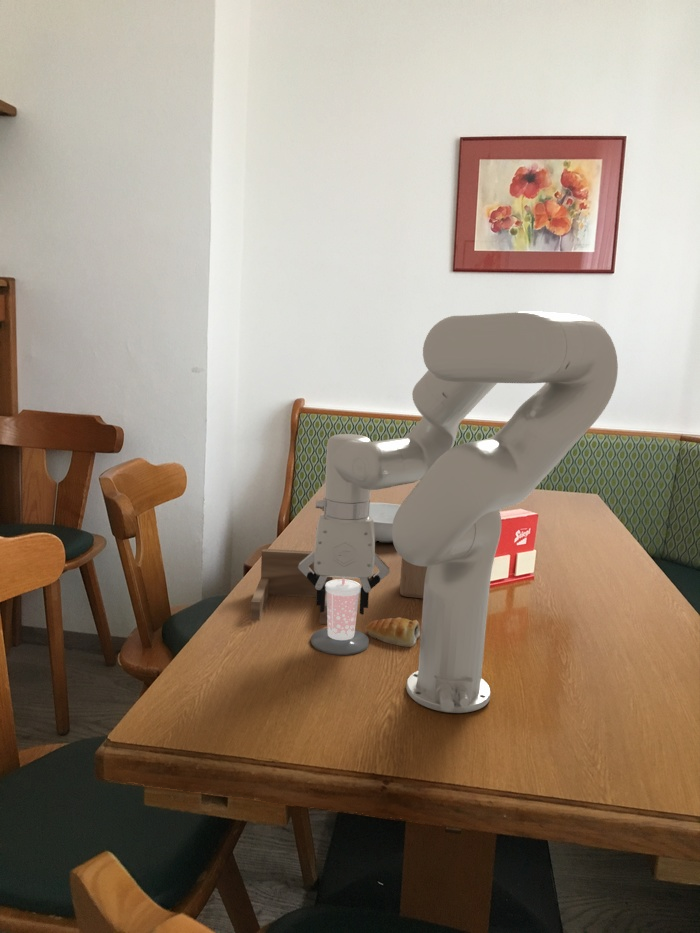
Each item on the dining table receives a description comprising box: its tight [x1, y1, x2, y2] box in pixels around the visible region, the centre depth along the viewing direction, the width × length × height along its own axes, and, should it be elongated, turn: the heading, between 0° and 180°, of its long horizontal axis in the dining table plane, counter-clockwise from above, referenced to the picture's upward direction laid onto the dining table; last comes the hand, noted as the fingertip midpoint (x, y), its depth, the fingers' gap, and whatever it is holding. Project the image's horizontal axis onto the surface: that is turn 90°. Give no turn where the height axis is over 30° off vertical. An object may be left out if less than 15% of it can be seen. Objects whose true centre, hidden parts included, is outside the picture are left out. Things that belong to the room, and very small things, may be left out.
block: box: [399, 557, 428, 599], centre depth 154 cm, size 10×10×20 cm
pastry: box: [365, 616, 421, 647], centre depth 133 cm, size 9×7×4 cm
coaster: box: [310, 627, 370, 656], centre depth 130 cm, size 10×10×1 cm
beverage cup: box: [325, 578, 362, 640], centre depth 128 cm, size 6×6×14 cm
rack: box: [250, 548, 334, 625], centre depth 144 cm, size 15×14×9 cm
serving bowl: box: [369, 502, 401, 543], centre depth 193 cm, size 21×21×7 cm
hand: (342, 609), depth 129 cm, fingers closed on beverage cup, 6 cm apart
